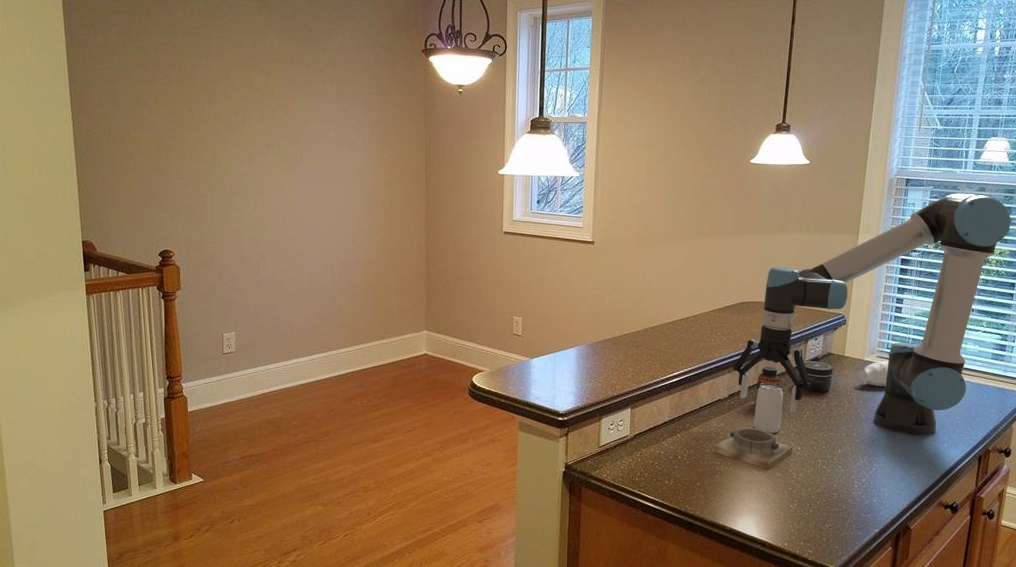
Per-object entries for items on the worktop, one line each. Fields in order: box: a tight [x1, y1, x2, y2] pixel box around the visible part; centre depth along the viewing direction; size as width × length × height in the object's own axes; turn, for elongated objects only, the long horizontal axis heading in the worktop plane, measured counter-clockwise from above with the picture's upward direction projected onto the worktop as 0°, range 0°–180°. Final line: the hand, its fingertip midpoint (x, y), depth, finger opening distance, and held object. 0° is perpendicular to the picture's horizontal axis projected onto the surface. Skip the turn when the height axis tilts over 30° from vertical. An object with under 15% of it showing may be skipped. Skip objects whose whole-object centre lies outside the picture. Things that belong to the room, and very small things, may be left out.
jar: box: [797, 360, 834, 393], centre depth 235 cm, size 10×10×8 cm
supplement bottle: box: [755, 366, 780, 402], centre depth 216 cm, size 6×6×11 cm
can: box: [753, 383, 784, 434], centre depth 197 cm, size 6×6×12 cm
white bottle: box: [857, 360, 889, 387], centre depth 240 cm, size 8×19×8 cm, turn 110°
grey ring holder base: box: [713, 427, 793, 470], centre depth 182 cm, size 14×14×4 cm
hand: (767, 404), depth 197 cm, fingers open, 13 cm apart
